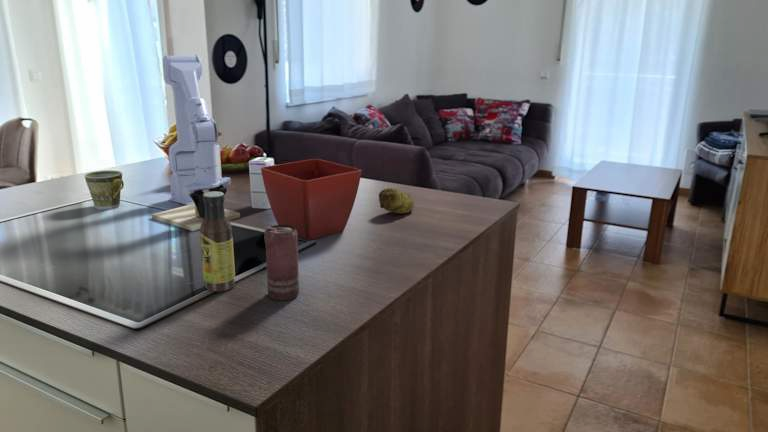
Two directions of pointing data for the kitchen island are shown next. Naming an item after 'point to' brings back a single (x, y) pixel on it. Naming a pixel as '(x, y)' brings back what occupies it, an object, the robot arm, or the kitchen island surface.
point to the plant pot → (311, 195)
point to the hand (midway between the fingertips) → (209, 214)
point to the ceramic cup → (105, 188)
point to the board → (187, 217)
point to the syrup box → (259, 182)
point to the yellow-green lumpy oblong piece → (395, 201)
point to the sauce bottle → (216, 245)
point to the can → (282, 262)
